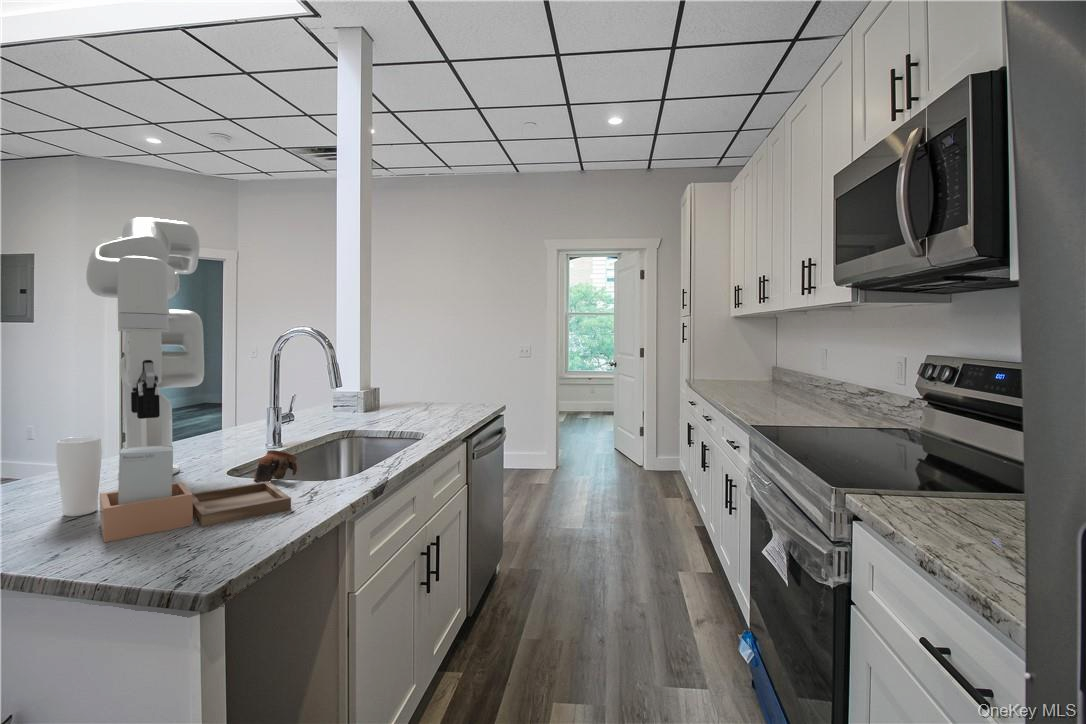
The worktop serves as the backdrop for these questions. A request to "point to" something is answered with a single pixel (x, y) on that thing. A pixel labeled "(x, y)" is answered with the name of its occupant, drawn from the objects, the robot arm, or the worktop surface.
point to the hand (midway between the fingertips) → (145, 414)
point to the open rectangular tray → (145, 514)
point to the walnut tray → (238, 503)
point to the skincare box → (145, 473)
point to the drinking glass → (79, 474)
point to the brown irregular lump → (275, 466)
